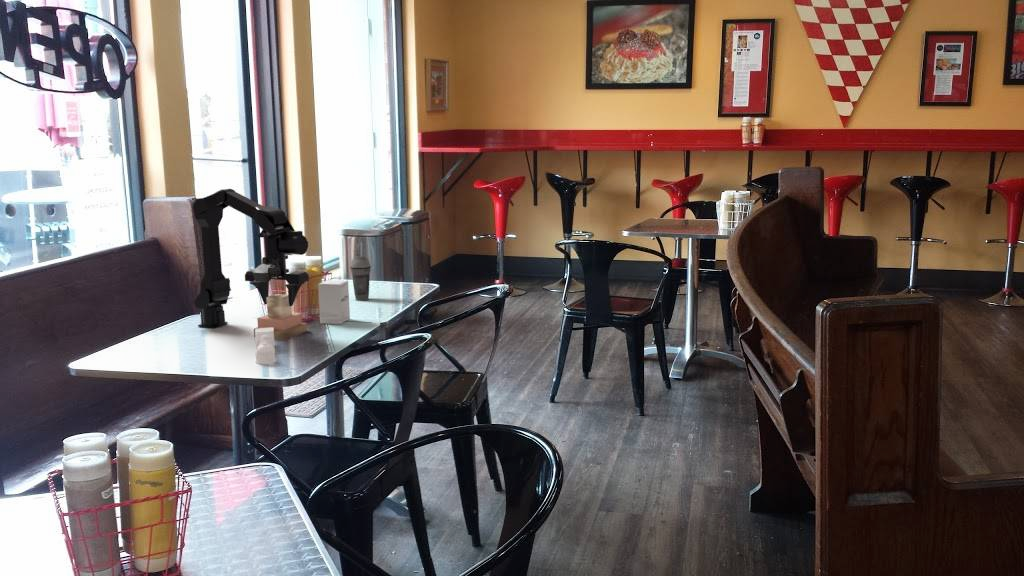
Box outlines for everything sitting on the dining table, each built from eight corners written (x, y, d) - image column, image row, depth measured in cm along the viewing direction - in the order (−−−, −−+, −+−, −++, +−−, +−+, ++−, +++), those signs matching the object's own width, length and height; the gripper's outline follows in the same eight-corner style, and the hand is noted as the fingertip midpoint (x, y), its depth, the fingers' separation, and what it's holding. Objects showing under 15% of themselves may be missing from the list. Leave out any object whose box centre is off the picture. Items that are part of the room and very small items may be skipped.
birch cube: (267, 317, 262) (266, 297, 261) (277, 313, 267) (276, 294, 265) (282, 318, 260) (280, 298, 259) (292, 314, 265) (290, 294, 264)
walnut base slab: (254, 338, 261) (253, 328, 261) (276, 330, 271) (276, 320, 271) (286, 341, 258) (285, 331, 257) (307, 332, 268) (306, 322, 267)
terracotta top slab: (258, 328, 261) (257, 318, 261) (276, 321, 270) (275, 311, 269) (284, 330, 258) (283, 320, 258) (301, 323, 267) (300, 313, 266)
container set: (255, 347, 250) (254, 328, 249) (275, 345, 252) (273, 326, 251) (255, 366, 232) (254, 345, 231) (276, 364, 233) (275, 343, 232)
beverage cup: (362, 296, 317) (359, 240, 313) (377, 298, 313) (374, 242, 309) (347, 300, 311) (344, 243, 307) (362, 302, 307) (359, 245, 303)
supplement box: (341, 324, 275) (339, 284, 273) (319, 323, 276) (317, 283, 274) (350, 319, 282) (348, 279, 280) (328, 318, 284) (326, 279, 281)
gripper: (230, 255, 256) (234, 308, 259) (285, 258, 249) (289, 313, 252) (254, 250, 266) (258, 301, 269) (308, 252, 259) (311, 305, 262)
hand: (278, 305), depth 263 cm, fingers open, 8 cm apart
